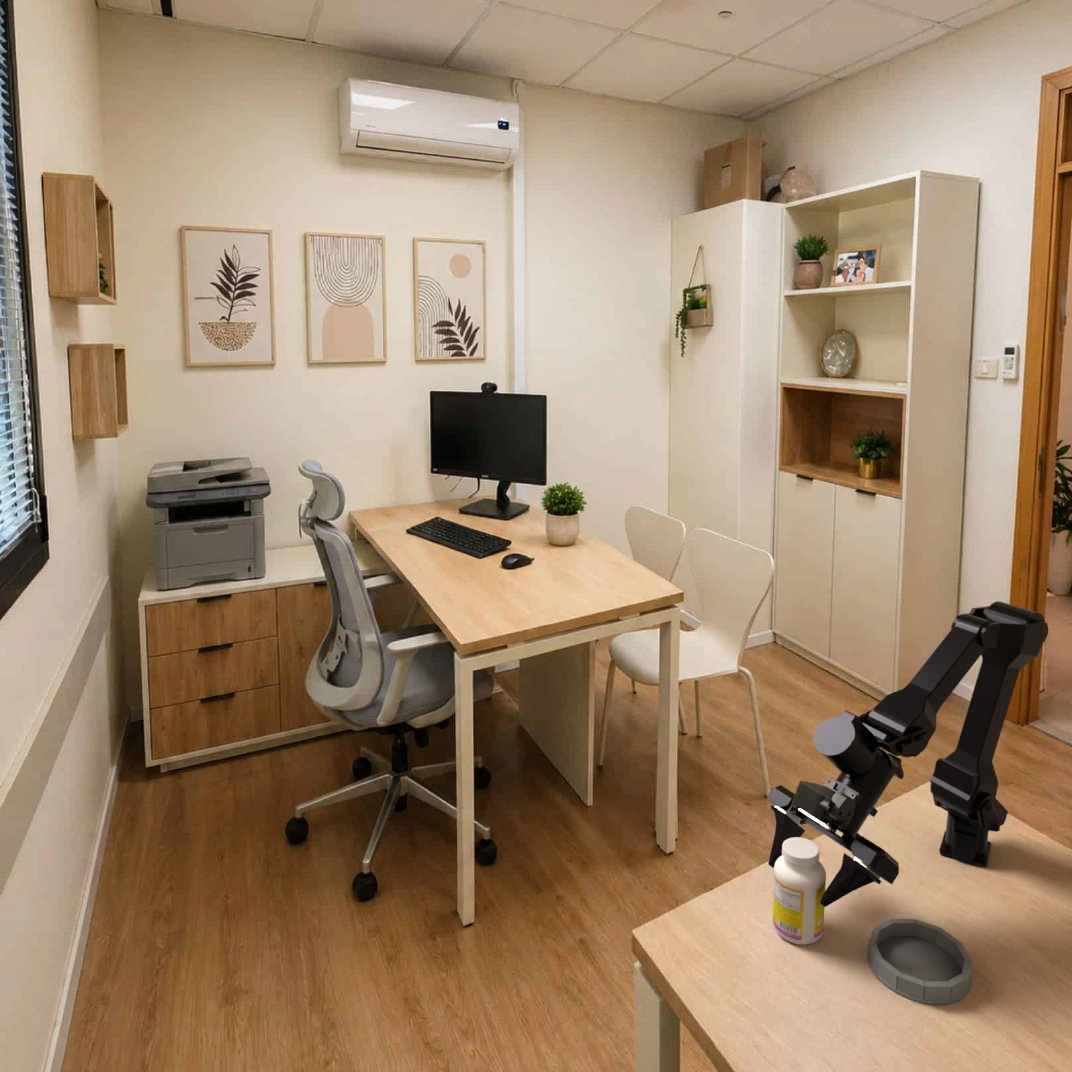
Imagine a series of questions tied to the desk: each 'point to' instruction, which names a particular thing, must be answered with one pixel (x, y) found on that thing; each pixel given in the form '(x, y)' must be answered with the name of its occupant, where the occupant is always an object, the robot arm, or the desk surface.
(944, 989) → the grey round tray
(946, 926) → the desk surface
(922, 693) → the robot arm
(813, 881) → the supplement bottle
